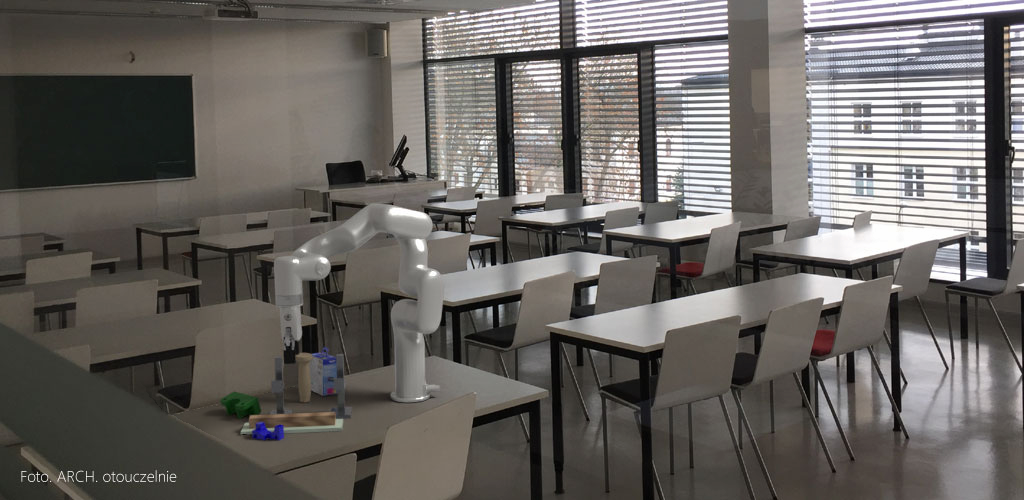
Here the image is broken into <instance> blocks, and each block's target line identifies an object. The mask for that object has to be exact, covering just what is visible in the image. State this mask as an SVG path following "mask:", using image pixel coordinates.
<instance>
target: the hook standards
mask: <svg viewBox="0 0 1024 500" xmlns="http://www.w3.org/2000/svg"><path fill="white" fill-rule="evenodd" d="M335 357H336V366H337V378H334V390H337V394H336V395H337V396H336V397H337V407H331V410H330V412H335V415H336V419H352V412H353V407H352V406H346V405H345V404H346V403H345V401H346V400H345V396H346V395H345V391H346V384H347V383H346V380H345V370H344V368H345V367H344V366H345V364H344V353H339V354H338V353H337V354H336V355H335ZM283 364H284V361H283V355H277V356H276V355H275V357H274V372H275V373H274V374H275V376H274V378H275V379H271V381H270V383H271V385H270V386H271V394H274V393H275V401H276V402H275V403H276V404H275V405H276V409H271V410H270V412H269V415H273V414H293V413H292V412H293V410H292V409H291V408H290V409H285V394H284V393H285V391H284V388H285V384H286V383H285V382H284V365H283Z"/></svg>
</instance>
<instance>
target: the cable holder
mask: <svg viewBox="0 0 1024 500" xmlns="http://www.w3.org/2000/svg"><path fill="white" fill-rule="evenodd" d="M255 425H256V429H254V430H252V435H251V436H252V439H253V438H256V439H255V440H259V439H261V441H266V440H273V439H276V440H275V441H281V440H283V439H285V433H284V426H283V425H277V426H275V428H274V431H273V432H270V431H269V430H267V428H266V427H265V424H264V422H258V423H256V424H255ZM267 438H269V439H267Z"/></svg>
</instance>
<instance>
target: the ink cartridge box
mask: <svg viewBox="0 0 1024 500" xmlns="http://www.w3.org/2000/svg"><path fill="white" fill-rule="evenodd" d="M325 350H326V351H325ZM329 350H330V348H328V347H326V346H323V348H322V350H321V352H315V353H311V354H312V357H313V359H312V360H311V361H310V362H309V367H310V378H311V392H314V393H315V394H316V393H317V394H318V395H320V396H322V397H323V396H330V395H331V396H332V395H337V390H334V378H337V366H336V356H333V355H330V354H328V353H329V352H330V351H329Z"/></svg>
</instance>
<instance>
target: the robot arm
mask: <svg viewBox="0 0 1024 500" xmlns="http://www.w3.org/2000/svg"><path fill="white" fill-rule="evenodd" d="M433 227H434V226H433V221H432V218H431V217H430V215H428V214H427V213H425V212H423V211H419V210H414V209H411V208H406V207H401V206H399V205H394V204H393V205H392V204H387V203H371V204H368V205H366V206H364V207H363V208H362V209H360V210H359V211H358V212H357V213H355V214H354V215H352V217H350V218H349V219H346V221H345V222H343V223H342V224H340V225H339V226H337V227H336V228H333V229H331V230H329V231H327V232H324V233H321V234H319V235H318V236H315V237H313V238H312V239H310V240H308V241H306V242H304V244H302V245H301V246H299V247H298V248H296V249H295V251H293V252H292V253H291V254H290V255H287V256H286V255H285V256H284V255H283V256H278V257H276V258H274V261H273V273H274V275H273V276H274V293H275V294H274V295H275V298H274V299H275V307H277V308H279V313H280V314H279V315H280V316H279V317H280V321H279V322H280V333H281V334H280V335H281V341H282V342H283V350H282V351H283V364H285V365H291V364H292V365H294V364H296V363H297V361H296V355H299V353H300V340H301V338H302V336H303V329H302V317H301V314H302V313H301V306H304V299H303V298H304V295H303V281H320V280H323V279H325V278H326V277H327V276H328V275H329V274H330V272H331V269H332V267H331V262H330V261H329V259H328V258H331V257H333V256H338V255H344V254H349V253H351V252H355V251H356V250H358V249H359V248H361V247H362V246H363V245H364V244H366V242H368V241H370V240H371V239H373V237H375V236H376V235H377V234H378V233H386V234H392V235H393V237H395V239H396V240H397V242H398V244H399V249H400V259H399V261H400V262H399V271H398V281H397V282H398V288H399V291H401V292H402V293H403V294H405V295H408V296H411V297H416V298H417V300H415V299H410V298H403V299H400V300H398V301H396V302H395V303H394V304H393V306H392V308H391V312H390V321H391V326H392V331H393V339H394V340H393V343H394V378H395V379H394V384H395V385H394V387H395V388H394V389H395V390H394V391H392V392H391V393H390V399H391V400H392V401H395V402H398V403H420V402H423V401H427V400H428V399H429V398H431V392H433V393H436V392H440V391H441V388H440V385H436V383H434V384H428V383H427V381H426V356H425V355H426V353H425V352H426V351H425V349H426V347H425V339H424V338H425V337H424V335H430V334H433V333H434V332H436V331H437V329H438V328H439V326H440V324H441V321H442V313H443V306H444V305H443V303H444V295H445V282H444V279H443V276H442V274H441V273H440V272H439V271H438V270H437V269H434V268H431V267H428V260H429V259H428V256H429V254H428V253H429V250H428V244H427V241H426V238H427V237H429V236H430V235H431V233H432V231H433Z"/></svg>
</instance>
